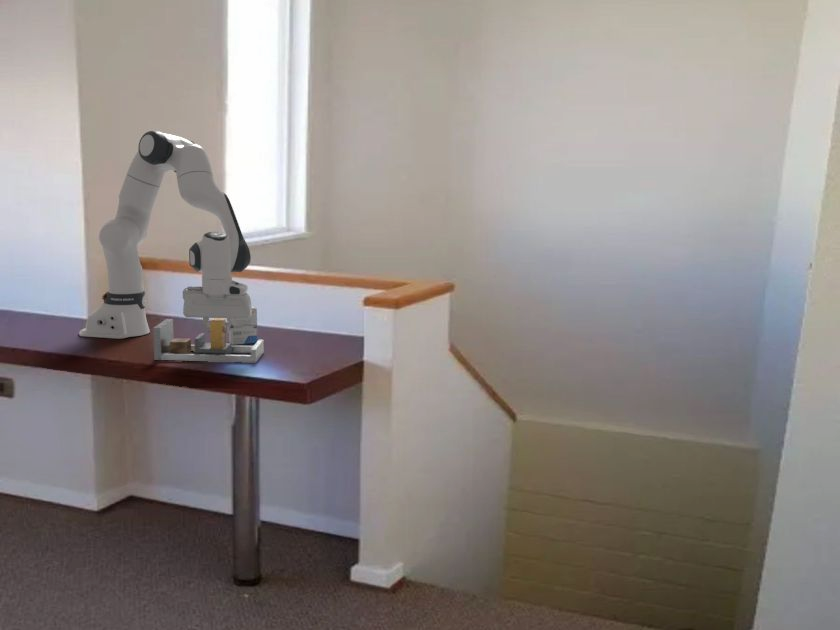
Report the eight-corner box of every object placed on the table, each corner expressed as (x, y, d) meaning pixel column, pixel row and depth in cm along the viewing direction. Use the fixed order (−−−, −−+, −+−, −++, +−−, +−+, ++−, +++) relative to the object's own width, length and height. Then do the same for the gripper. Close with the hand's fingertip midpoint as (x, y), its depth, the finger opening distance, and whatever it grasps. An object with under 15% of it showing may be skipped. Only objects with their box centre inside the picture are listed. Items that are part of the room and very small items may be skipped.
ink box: (254, 340, 295) (254, 305, 293) (257, 343, 290) (257, 308, 288) (228, 341, 292) (227, 306, 289) (231, 345, 287) (230, 309, 285)
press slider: (194, 358, 267) (193, 322, 265) (201, 351, 276) (200, 316, 274) (225, 359, 267) (224, 323, 265) (231, 352, 276) (230, 317, 274)
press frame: (154, 360, 264) (153, 327, 262) (167, 350, 278) (166, 318, 276) (255, 362, 264) (255, 329, 263) (263, 352, 278) (263, 320, 276)
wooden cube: (170, 358, 269) (169, 341, 268) (175, 354, 274) (174, 338, 273) (186, 358, 269) (186, 342, 268) (191, 354, 274) (190, 338, 273)
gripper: (179, 288, 264) (181, 333, 267) (248, 289, 264) (249, 335, 267) (185, 284, 270) (186, 329, 273) (252, 286, 270) (253, 330, 273)
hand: (218, 332), depth 270 cm, fingers closed on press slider, 3 cm apart
